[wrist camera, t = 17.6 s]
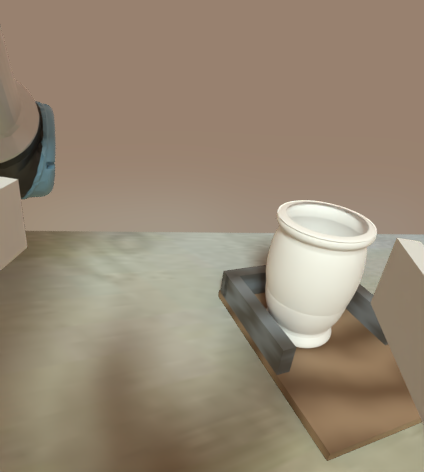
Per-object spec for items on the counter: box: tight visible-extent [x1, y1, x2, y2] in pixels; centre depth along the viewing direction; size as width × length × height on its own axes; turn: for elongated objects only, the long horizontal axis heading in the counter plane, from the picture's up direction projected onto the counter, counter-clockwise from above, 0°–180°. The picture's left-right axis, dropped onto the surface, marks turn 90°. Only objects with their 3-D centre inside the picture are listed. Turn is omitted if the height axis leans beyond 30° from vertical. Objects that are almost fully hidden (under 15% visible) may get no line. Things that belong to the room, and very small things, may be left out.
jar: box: [265, 200, 377, 348], centre depth 42 cm, size 11×10×15 cm
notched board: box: [219, 265, 422, 461], centre depth 44 cm, size 24×17×4 cm
